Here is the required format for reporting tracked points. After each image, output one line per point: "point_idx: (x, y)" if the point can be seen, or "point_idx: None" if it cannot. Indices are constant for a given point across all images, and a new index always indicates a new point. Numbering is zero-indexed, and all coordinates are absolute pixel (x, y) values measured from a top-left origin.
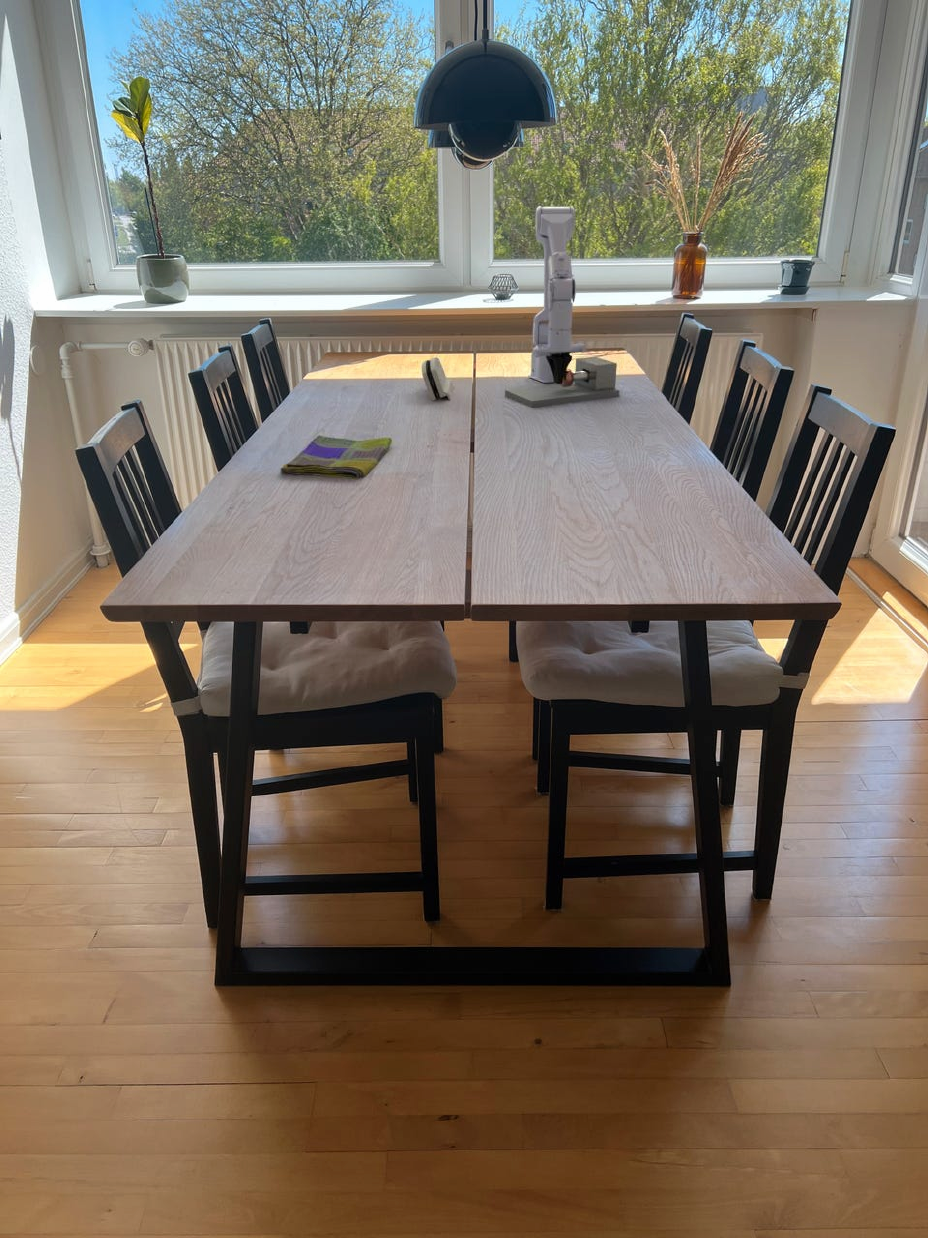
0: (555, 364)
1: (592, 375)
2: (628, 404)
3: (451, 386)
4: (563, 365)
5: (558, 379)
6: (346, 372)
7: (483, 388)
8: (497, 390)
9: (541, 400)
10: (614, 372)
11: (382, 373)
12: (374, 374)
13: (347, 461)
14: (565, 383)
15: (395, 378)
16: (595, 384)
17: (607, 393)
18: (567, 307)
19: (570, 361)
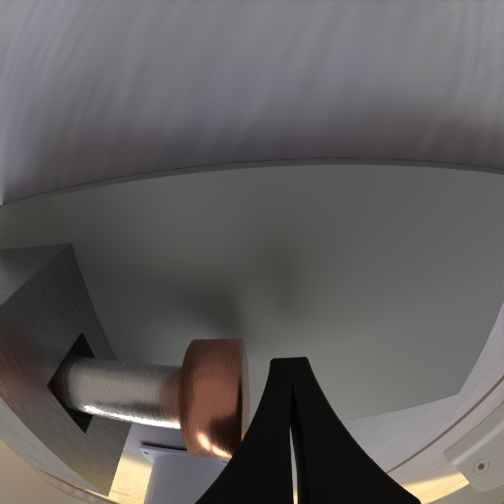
0: (385, 478)
1: (39, 334)
2: (21, 35)
3: (476, 435)
4: (290, 474)
5: (313, 376)
6: (460, 484)
7: (419, 441)
8: (411, 427)
9: (496, 172)
10: None
11: (439, 488)
12: (450, 483)
13: None
14: (243, 355)
15: (454, 474)
16: (51, 265)
17: (29, 200)
18: None
19: (199, 502)
